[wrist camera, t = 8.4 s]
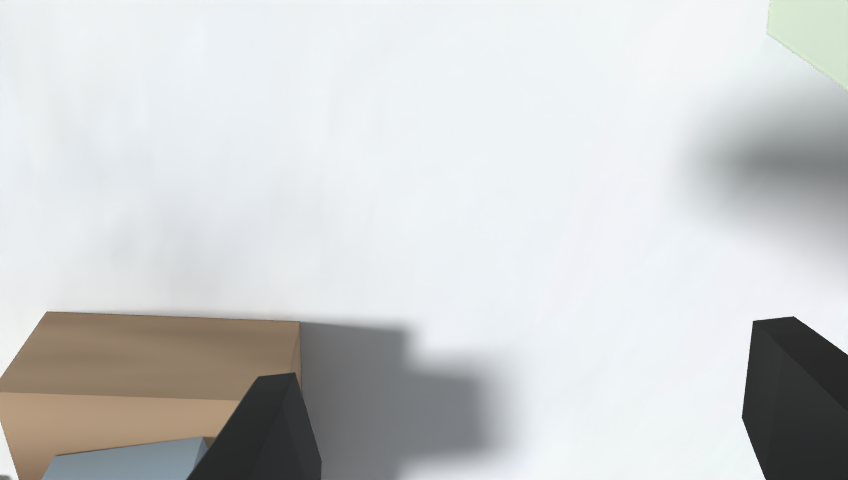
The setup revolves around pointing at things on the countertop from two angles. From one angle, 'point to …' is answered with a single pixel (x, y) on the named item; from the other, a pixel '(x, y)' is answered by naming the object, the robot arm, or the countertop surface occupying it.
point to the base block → (133, 381)
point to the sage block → (813, 33)
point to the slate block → (131, 462)
